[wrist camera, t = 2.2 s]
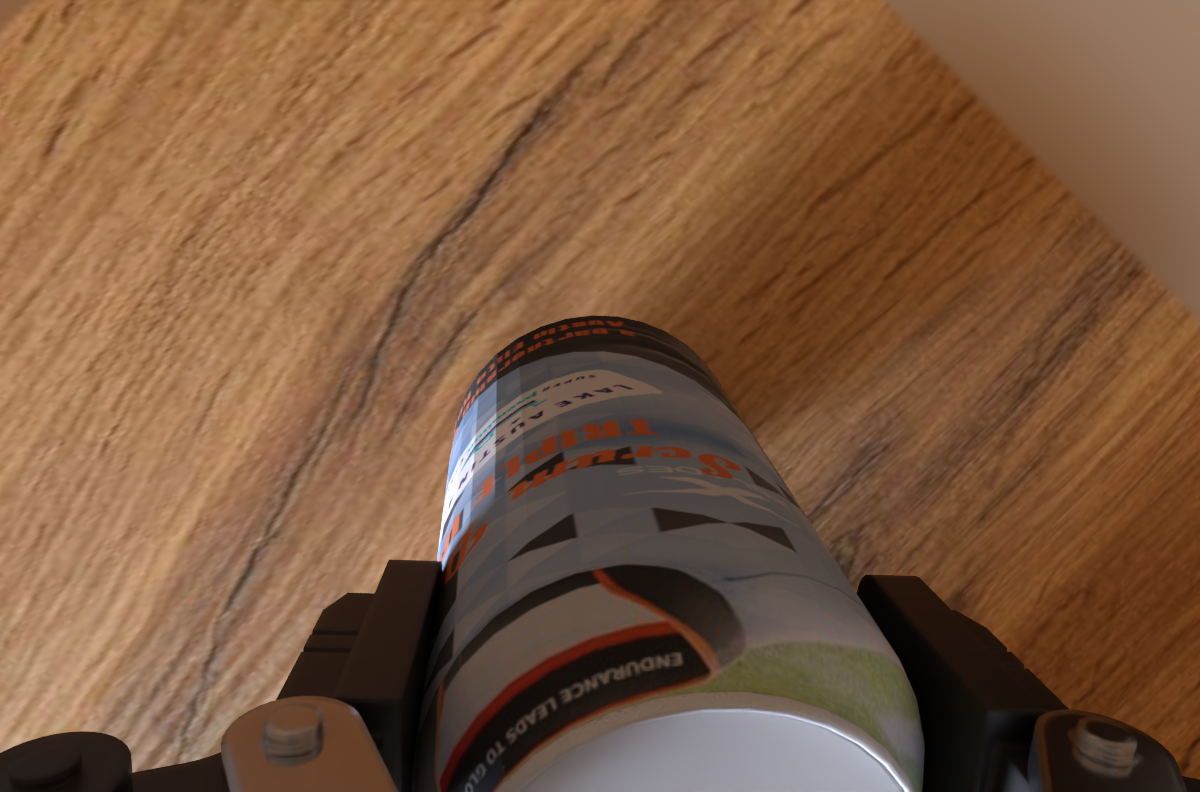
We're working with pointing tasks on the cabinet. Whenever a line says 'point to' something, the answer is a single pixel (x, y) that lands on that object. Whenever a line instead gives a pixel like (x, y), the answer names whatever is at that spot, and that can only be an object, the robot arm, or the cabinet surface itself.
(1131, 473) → the cabinet surface
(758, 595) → the beverage can
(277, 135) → the cabinet surface
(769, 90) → the cabinet surface
